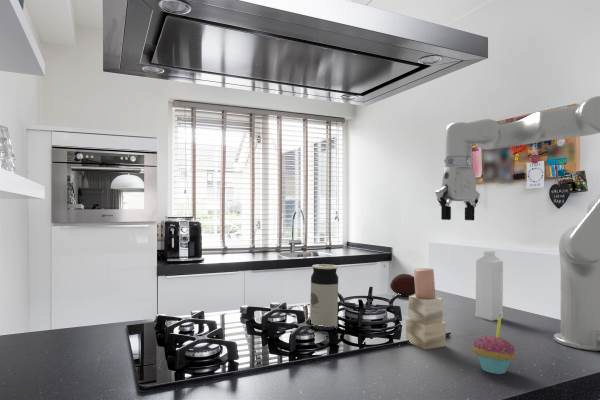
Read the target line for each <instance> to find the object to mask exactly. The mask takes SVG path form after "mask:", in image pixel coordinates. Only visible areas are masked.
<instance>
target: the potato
mask: <svg viewBox="0 0 600 400" xmlns="http://www.w3.org/2000/svg"><path fill="white" fill-rule="evenodd" d="M390 289H391V291H393V292H394V293H395V294H396V295H398V293H399V294H401V295H400V296H401V297H409V296H414V295H415V281H414V275H412V274H407V273H401V274H398V275H396V276H395V277H394V278H393V279H392V280H391V282H390Z"/></svg>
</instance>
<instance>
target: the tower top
mask: <svg viewBox="0 0 600 400" xmlns="http://www.w3.org/2000/svg"><path fill="white" fill-rule="evenodd" d="M443 301H444V299H443V298H441V297H437V296H435V297H434V298H428V299H423V298H417V297H416V296H415V295H411V296H408V317H407V318H408V319H410V320H413V321H416V322H419V323H422V324H425V325H427V324H434V323H441V322H444V321H443V317H444V315H443V312H444V311H443V310H444V309H443V308H444V307H443V303H444V302H443Z"/></svg>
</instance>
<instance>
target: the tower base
mask: <svg viewBox="0 0 600 400" xmlns="http://www.w3.org/2000/svg"><path fill="white" fill-rule="evenodd" d="M408 318H409V317H407V318H405V340H406V339H407V340H409V342H410V343H409V342H408V343H409V344H411V345H414V346H415V347H418V348H421V349H423V350H430V349H435V348H442V347H446V338H447V337H446V333H447V332H446V331H447V329H446V327H447V324H446V322H445V321H443V322H441V323H434V324H427V325H425V324H422V323H419V322H416V321H413V320H410V319H408Z"/></svg>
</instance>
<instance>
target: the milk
mask: <svg viewBox="0 0 600 400" xmlns="http://www.w3.org/2000/svg"><path fill="white" fill-rule="evenodd" d="M503 292H504V261H502V260H501V259H500V258H499V257H497V256H496V253H495V251H493V250H491V251H490V250H489V251H484V252H483V256H482V257H480V258H478V259H476V260H475V317H477V318H479V319H483V320H488V321H491V322H493V321H498V317H500V314H501V317H500V318H501V320H502V319H503V317H504V316H503V311H504V309H503V307H504V305H503V301H504V299H503V298H504V297H503V295H504V293H503Z"/></svg>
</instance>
